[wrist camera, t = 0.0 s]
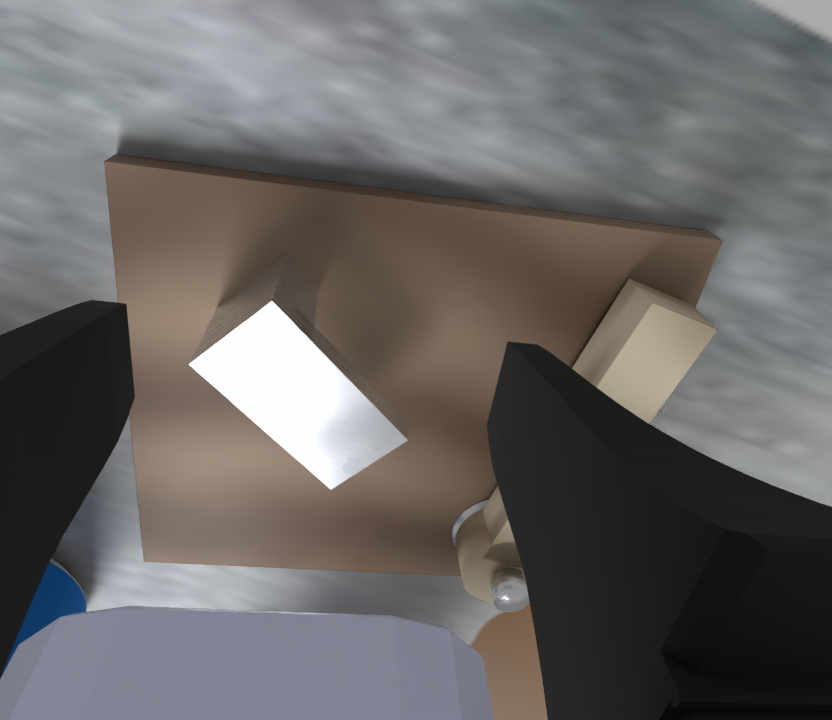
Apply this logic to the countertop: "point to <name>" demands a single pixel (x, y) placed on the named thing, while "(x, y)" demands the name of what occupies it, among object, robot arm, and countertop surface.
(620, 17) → the countertop surface
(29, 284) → the countertop surface
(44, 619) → the beverage can
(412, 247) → the wooden cutting board
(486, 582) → the link
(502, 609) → the keeper
